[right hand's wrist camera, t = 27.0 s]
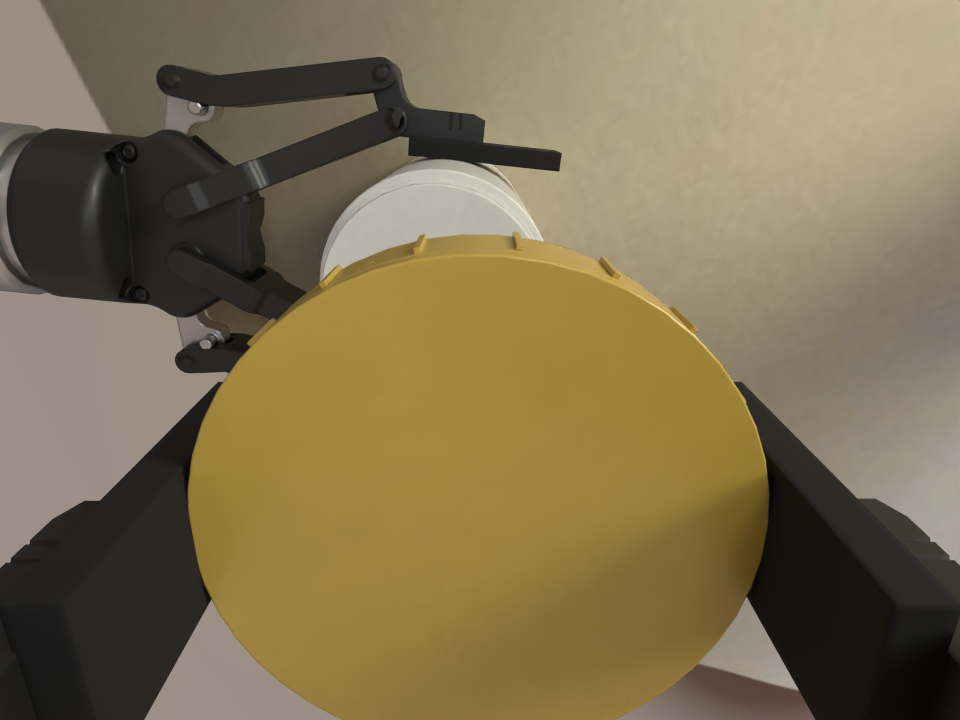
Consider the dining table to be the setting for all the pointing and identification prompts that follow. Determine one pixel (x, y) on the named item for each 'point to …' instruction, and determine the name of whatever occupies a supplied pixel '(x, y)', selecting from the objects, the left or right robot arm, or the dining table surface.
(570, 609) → the lid
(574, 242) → the dining table surface
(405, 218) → the jar
